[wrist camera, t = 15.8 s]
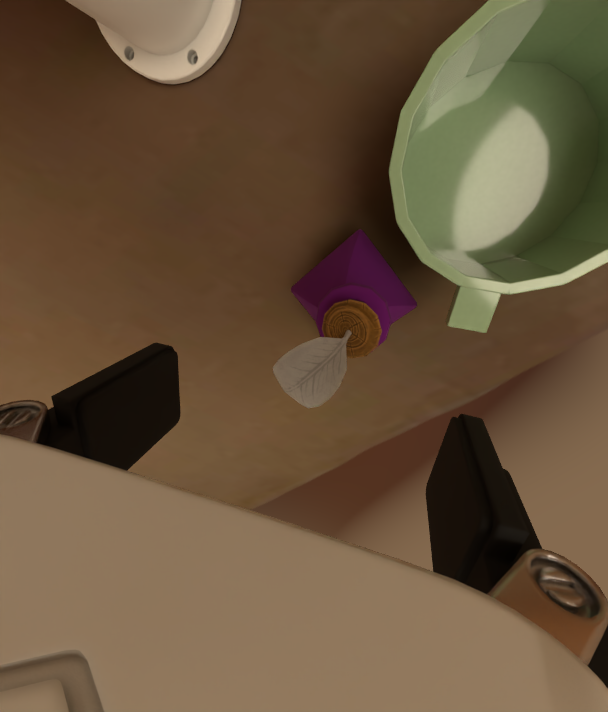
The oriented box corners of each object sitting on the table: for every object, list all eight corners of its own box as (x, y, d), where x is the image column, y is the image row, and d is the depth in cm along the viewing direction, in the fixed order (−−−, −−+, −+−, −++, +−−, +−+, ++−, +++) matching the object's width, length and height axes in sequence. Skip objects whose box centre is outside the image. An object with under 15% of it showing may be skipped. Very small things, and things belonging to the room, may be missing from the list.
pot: (368, 286, 29) (359, 312, 22) (430, -8, 21) (449, -130, 14) (536, 316, 27) (591, 356, 19) (679, -3, 19) (869, -148, 11)
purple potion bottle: (364, 226, 28) (321, 244, 12) (416, 296, 29) (442, 401, 13) (299, 281, 31) (195, 356, 15) (348, 342, 32) (301, 473, 16)
